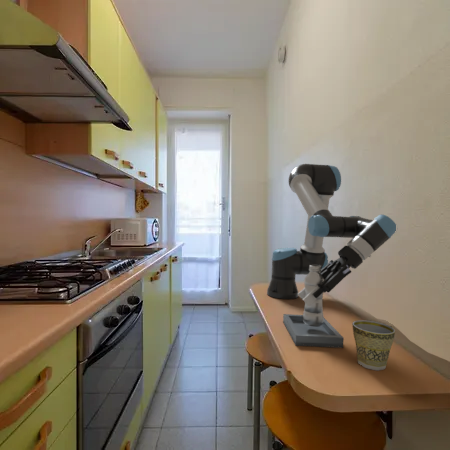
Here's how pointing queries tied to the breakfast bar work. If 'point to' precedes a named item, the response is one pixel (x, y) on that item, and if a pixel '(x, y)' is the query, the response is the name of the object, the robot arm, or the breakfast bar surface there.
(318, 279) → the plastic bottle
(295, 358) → the breakfast bar surface
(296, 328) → the tray
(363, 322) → the ceramic cup
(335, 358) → the breakfast bar surface
